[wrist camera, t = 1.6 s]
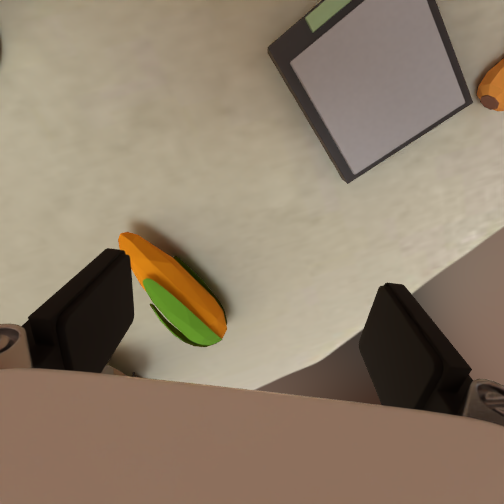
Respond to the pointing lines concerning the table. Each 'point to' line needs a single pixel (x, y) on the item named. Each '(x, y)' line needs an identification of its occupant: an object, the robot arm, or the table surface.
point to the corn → (176, 293)
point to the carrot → (493, 88)
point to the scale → (371, 76)
